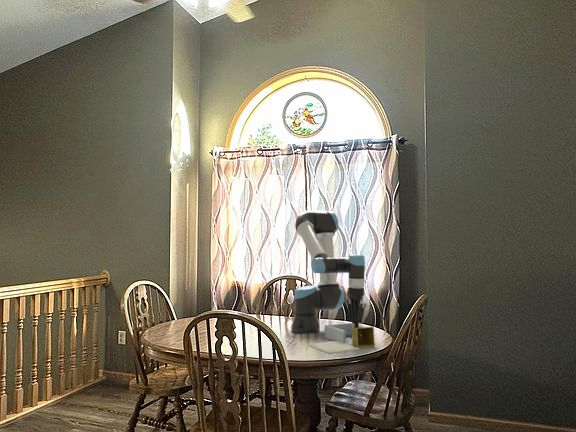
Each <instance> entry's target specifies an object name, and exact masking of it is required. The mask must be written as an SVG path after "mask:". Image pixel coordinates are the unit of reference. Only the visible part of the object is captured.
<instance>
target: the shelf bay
mask: <svg viewBox="0 0 576 432" xmlns="http://www.w3.org/2000/svg"><path fill="white" fill-rule="evenodd" d="M363 327H365V326H363V325H360V324H359V328H363ZM348 336H351V337H352V322H345V323H336V324H328V325H324V339H327V340H331V341H339V342H342V343H345V344H346V337H348ZM360 336H361V335H360Z"/></svg>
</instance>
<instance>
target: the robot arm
mask: <svg viewBox="0 0 576 432" xmlns="http://www.w3.org/2000/svg"><path fill="white" fill-rule="evenodd" d="M294 226H295V227H294V228H295V231H296V233H297V234H298V236H300V237H301V239H302V241H303V243H304V245H305V247H306V249H307V251H308V253H309V256H310V257H311V262H310V267H311V271H312V273H314V274H319V283H318V284H317V286H315V285H307V286H305V285H304V286H300V287H297V288H296V289H294V295H293V300H294V316H293V320H292V324H291V327H290V331H291V333H295V334H302V335H303V334H305V335H307V334H316V333H319V332H320V330H321V328H320V323H319V319H318V317H317V316H318V315H317V311H334V310H339V309H341V308H342V307H343V305H344V301H345V291H344V288H342V287H340V283H339V282H338V281H337V278H336V277H337V275H336V274H343V273H344V274H348V290H347V294H348V296H349V299H347V300H346V301H345V303H346V305H347V314H348V320H349V321H350V323H352V329H353V328H359V325H360V323H363V319H364V318H363V317H364V312H365V308H366V306H367V303H364V302H363V300H364V299H363V296H364V295H365V269H366V261H365V260H366V259H365V258H366V257H365V255H363V254H356V253H355V254H350V255H348V256H341V257H335V251H334V237H335V235H336V232H338V230H339V219H338V217H337V214H336V213H335V212H334V211H329V210H306V211H303V212H301V213H300V214H299V215H298V216H297V218H296V219H295V225H294ZM357 333H358V331H357Z"/></svg>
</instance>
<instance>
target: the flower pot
mask: <svg viewBox="0 0 576 432" xmlns="http://www.w3.org/2000/svg"><path fill="white" fill-rule="evenodd" d="M357 331H358V333H357ZM360 335H361V336H360ZM351 338H352V345H353V346H354V347H357V348H369V347H375V345H376V343H375V342H376V341H375V328H374V326H364V327H363V328H353V329H352V336H351Z"/></svg>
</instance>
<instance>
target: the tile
mask: <svg viewBox="0 0 576 432" xmlns="http://www.w3.org/2000/svg"><path fill="white" fill-rule="evenodd" d="M307 346H308V347H311V348H314V349H315V350H319V351H321V352H324V353H327V354H335V353H336V354H337V353H343V352H344V353H345V352H351V351H359V350H360V347H357V346H355V345H351V344H348V343H346V342H345V343H342V342H339V341H333V340H331V341H324V342H315V343H308V344H307Z"/></svg>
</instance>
